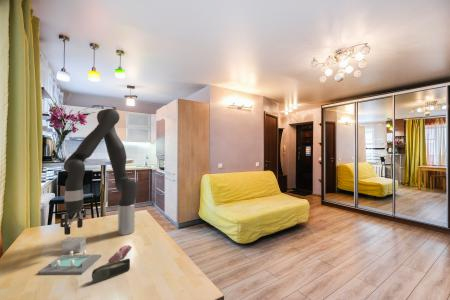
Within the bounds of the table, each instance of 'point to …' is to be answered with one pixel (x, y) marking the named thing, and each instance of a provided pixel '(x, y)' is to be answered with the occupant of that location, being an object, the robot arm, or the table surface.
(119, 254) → the pink oblong lump
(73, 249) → the block
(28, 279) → the table surface
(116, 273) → the mobile phone
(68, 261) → the docking tray
